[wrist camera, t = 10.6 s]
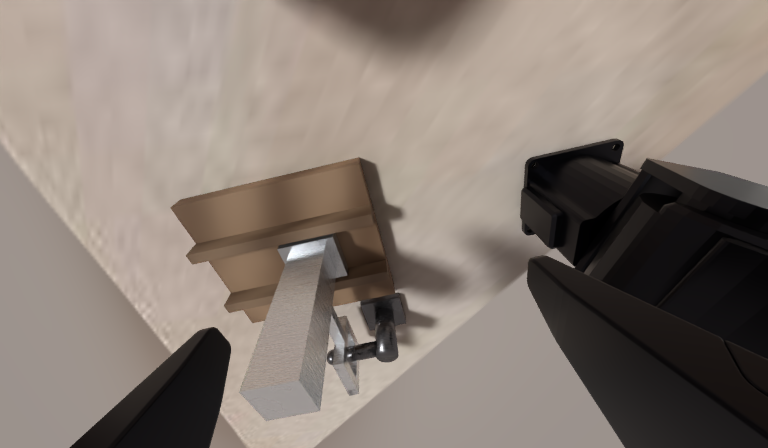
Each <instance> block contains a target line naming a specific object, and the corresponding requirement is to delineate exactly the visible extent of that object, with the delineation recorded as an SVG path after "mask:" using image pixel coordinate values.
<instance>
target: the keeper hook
mask: <svg viewBox="0 0 768 448" xmlns="http://www.w3.org/2000/svg"><path fill="white" fill-rule="evenodd" d="M361 308H362V311H363V313H364V316H365V318H366V321H367V324H368V326H369V329H370V330H374V329H375V337H376V341H374V342H369V343H364V344H359V345H354V346H349V347H347V361H348V362H353V361H358V360H363V359H368V358H373V357H377V359H378V360H379V361H381V362H392V361H394V360H396V359H397V358H398V347H397V338H396V330H395V325H400V324H405V323H406V319H405V315H404V311H403V308H402V304H401V300H400V296H399V293H395V294H391V295H386V296H382V297H377V298H372V299H367V300H362V301H361ZM333 358H334V349H333V350H331V351H329V352H328V354H327V362H328V363H329V364H331V365H333Z"/></svg>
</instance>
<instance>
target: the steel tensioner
mask: <svg viewBox="0 0 768 448" xmlns="http://www.w3.org/2000/svg"><path fill="white" fill-rule="evenodd" d="M277 250H278V252H279V254H280V256H281V258H282V260H283V261H284V263H285V267H284V270H283V272H282V275H281V278H280V281H279V283H278V286H277V289H276V292H275V294H274V297H273V300H272V303H271V305H270V308H269V311H268V314H267V316H266V319H265V322H264V325H263V327H262V330H261V333H260V336H259V338H258V341H257V344H256V347H255V349H254V352H253V355H252V358H251V360H250V363H249V366H248V369H247V371H246V374H245V377H244V380H243V382H242V385H241V388H240V391H239V393H240V394H241V395H242V396H243V397H244V398H245V399H246V400H247V401H248V402H249V403H250V404H251V405H252V406H253V408H254V409H255V410H256V411H257V412H258V413H259V414H260V415H261V416H262V417H263V418H264V419H265V420H266V421H268V420H274V419H279V418H285V417H290V416H295V415H301V414H306V413H312V412H317V411H320V407H321V398H322V390H323V381H324V373H325V365H326V356H327V348H328V339H329V333H330V335H331V337H332V339H333V341H334V343H335V347H334V358H333V367H334V369H335V370H336V372H337V374H338V376H339V378H340V380H341V381H342V383H343V385H344V387H345V389H346V390H347V392H348V394H349V396H350V395H355V394H359V360H358V361H353V362H348V361H347V347H349V346H354V345H359V344H358V342H357V339H356V337H355V335H354V333H353V330H352V328H351V326H350V323H349V321H348V319H347V316H342V317H337V315H336V312H335V310H334V308H333V297H334V289H335V281H336V278H338V277H343V276H347V275H348V265H347V263H346V260H345V257H344V255H343V252H342V249H341V247H340V244H339V241H338V239H337V236H336V233H333V234H328V235H323V236H319V237H314V238H310V239H305V240H301V241H296V242H292V243H287V244H283V245H279V246H278V249H277Z"/></svg>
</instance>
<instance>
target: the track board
mask: <svg viewBox="0 0 768 448" xmlns="http://www.w3.org/2000/svg"><path fill="white" fill-rule="evenodd" d="M171 209H172V211H173V212H174V213H175V215H176V216H177V218H178V219H179V220H180V222H181V223H182V225H183V226H184V227H185V229H186V230H187V232H188V233H189V234H190V236H191V237H192V239H193V240H194V241H195V243H196V245H195V246H194V247H193V248H192V249H191V250H190V251H189V253H188V254H187V255H186V257H187V258H188V259H189V261H190V262H191V263H192V264H197V263H202V262H206V261H209V263H210V264H211V265H212V267H213V268H214V270H215V271H216V272H217V274H218V275H219V277H220V278H221V279H222V281H223V282H224V284H225V285H226V286H227V288H228V289H229V291H230V292H231V294H230V296H229V298H228V300H227V301H226V303H225V305H224V307H225V308H226V309H227V311H228V312H229V313H231V312H235V311H240V310H244V312H245V313H246V314H247V316H248V317H249V319H250V320H251V321H252V323H255V322H260V321H265V319H266V316H267V314H268V311H269V308H270V305H271V303H272V300H273V297H274V294H275V292H276V289H277V286H278V283H279V281H280V278H281V275H282V272H283V270H284V267H285V263H284V261H283V260H282V258H281V256H280V254H279V252H278V250H277V249H278V246H279V245H283V244H287V243H292V242H296V241H301V240H305V239H310V238H314V237H319V236H323V235H328V234H333V233H336V236H337V239H338V241H339V244H340V247H341V249H342V252H343V255H344V257H345V260H346V263H347V265H348V275H347V276H343V277H338V278H336V281H335V289H334V297H333V306H338V305H343V304H348V303H352V302H357V301H362V300H367V299H372V298H377V297H382V296H386V295H391V294H395V289H394V283H393V279H392V275H391V272H390V268H389V264H388V261H387V257H386V253H385V250H384V246H383V242H382V239H381V235H380V232H379V228H378V224H377V221H376V217H375V213H374V210H373V206H372V202H371V199H370V195H369V191H368V188H367V184H366V180H365V177H364V173H363V169H362V166H361V162H360V158H355V159H351V160H346V161H342V162H338V163H334V164H329V165H325V166H321V167H317V168H313V169H308V170H304V171H300V172H296V173H291V174H287V175H283V176H279V177H274V178H270V179H266V180H262V181H258V182H253V183H249V184H245V185H241V186H236V187H232V188H228V189H224V190H219V191H215V192H211V193H207V194H203V195H198V196H194V197H190V198H186V199H181V200H179V201H178V202H177V203H176V204H175V205H173V206H172V207H171Z"/></svg>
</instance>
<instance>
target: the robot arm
mask: <svg viewBox="0 0 768 448" xmlns="http://www.w3.org/2000/svg"><path fill="white" fill-rule="evenodd" d="M614 145H615V147H614V148H613V146H614ZM623 146H624V143H623V141H621V140H618V139H610V140H606V141H601V142H597V143H593V144H588V145H584V146H579V147H575V148H571V149H566V150H562V151H558V152H553V153H549V154H544V155H540V156H536V157H532V158H530V159H528V160H527V162H526V164H525V177H524V188H523V189H522V191H521V213H520V218H521V219H522V231H523V232H524V233H525V234H526V235H534V234H536V235H537V236H538V237H539V238H540V239H541V240H542V241H543V242H544V243H545V245H546V246H547V247H549V248H551V249H555V248H557V249H558V250H559V251H560V252H561V253H562V254H563V256H564V257H565V258H566V259H567V260H568V261H569V262H570V263H571V264H572V265H573V266H576V267H575V268H572V267H570V266H567V265H565V264H563V263H561V262H559V261H557V260H555V259H553V258H550V257H548V256H538V257H534V258H531V259H529V261H528V273H527V283H528V287H529V289H530V291H531V293H532V295H533V297H534V299H535V301H536V303H537V305H538V307H539V309H540V311H541V313H542V315H543V317H544V319H545V321H546V323H547V324H548V327H549V328H550V331H551V333H552V334H553V336H554V338H555V340H556V342H557V343H558V345H559V346H560V348H561V350H562V351H563V352H564V354H565V356H566V357H567V359H568V360H569V362H570V363H571V365H572V366H573V368H574V370H575V371H576V373H577V374H578V376H579V377H580V379H581V380H582V382H583V384H584V385H585V387H586V388H587V390H588V391H589V393H590V394H591V396H592V397H593V399H594V400H595V402H596V404H597V405H598V407H599V408H600V410H601V411H602V413H603V414H604V416H605V417H606V419H607V420H608V422H609V424H610V425H611V426H612V428H613V430H614V431H615V433H616V434H617V436H618V437H619V439H620V440H621V442H622V444H623V445H624V447H625V448H768V187H767V186H764V185H761V184H757V183H754V182H751V181H748V180H744V179H741V178H738V177H735V176H731V175H728V174H725V173H721V172H717V171H712V170H706V169H701V168H696V167H690V166H685V165H680V164H675V163H670V162H664V161H659V160H654V159H648V158H647V159H646V161H645V162H644V163H643V165H642V166H641V168H640V169H642V170H641V172H638V171H636V170H634V169H631V168H629V167H627V166H624V165H622V164H620V159H621V154H622V150H623ZM612 148H613V149H612ZM535 162H536V164H535V166H534V167H531V166H532V164H533V163H535ZM529 228H530V229H529ZM528 229H529V230H528ZM230 355H231V346H230V343H229V342H228V341H227V339H226V338H225V337H224V336H223V335H222V334H221V332H220V331H219V330H218V329H217V328H215V327H211V328H206V329H202V330H199V331H198V332H197V333H195V334H194V335H193V336H192V337H191V338H190V339H189V340H188V341H187V342H186V343H184V344H183V345H182V346H181V347H180V348H179V349H178V350H177V351H176V352H174V353H173V354H172V355H171V356H170V357H169V358H168V359H167V360H166V361H165V362H163V363H162V364H161V365H160V366H159V367H158V368H157V369H156V370H155V371H154V372H152V373H151V375H149V376H148V377H147V378H146V379H145V380H144V381H143V382H142V383H140V384H139V385H138V386H137V387H136V388H135V389H134V390H133V391H132V392H130V393H129V394H128V395H127V396H126V397H125V398H124V399H123V400H122V401H121V402H119V403H118V404H117V405H116V406H115V407H114V408H113V409H112V410H111V411H109V412H108V413H107V414H106V415H105V416H104V417H103V418H102V419H101V420H100V421H98V422H97V423H96V424H95V425H94V426H93V427H92V428H91V429H90V430H88V432H86V433H85V434H84V435H83V436H82V437H81V438H80V439H79V440H77V441H76V442H75V443H74V444H73V445H72V446H71V447H70V448H209V447H210V444H211V440H212V437H213V433H214V429H215V425H216V422H217V418H218V415H219V411H220V407H221V403H222V398H223V393H224V387H225V382H226V376H227V371H228V366H229V360H230Z"/></svg>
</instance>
